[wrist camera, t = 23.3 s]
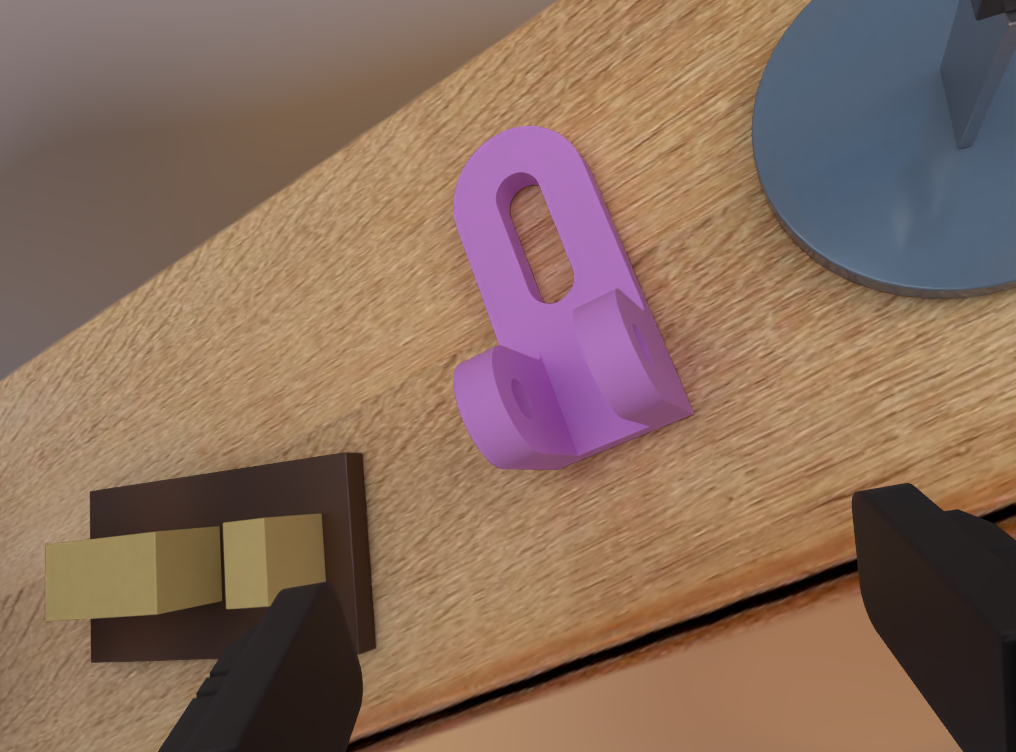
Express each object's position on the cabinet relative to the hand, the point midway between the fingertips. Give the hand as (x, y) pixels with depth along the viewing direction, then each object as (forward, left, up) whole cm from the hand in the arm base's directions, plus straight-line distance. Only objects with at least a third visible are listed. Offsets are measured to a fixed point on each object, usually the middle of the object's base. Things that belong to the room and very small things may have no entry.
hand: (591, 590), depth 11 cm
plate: (+9, +12, -16) cm, 22 cm away
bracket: (-5, +10, -16) cm, 19 cm away
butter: (-24, 0, -14) cm, 28 cm away
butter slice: (-17, 0, -14) cm, 22 cm away
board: (-22, 0, -16) cm, 27 cm away
